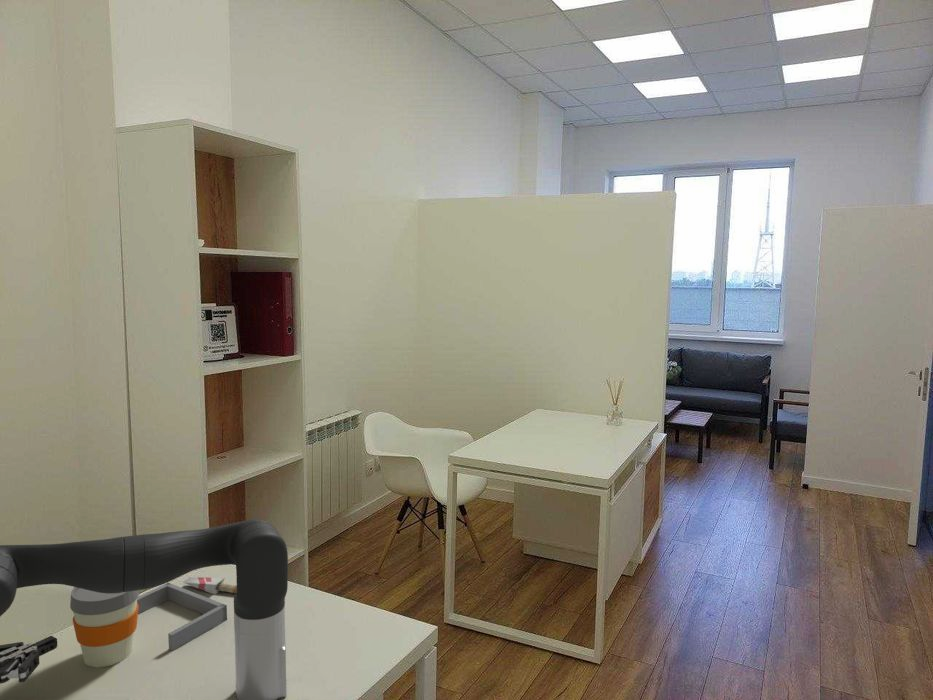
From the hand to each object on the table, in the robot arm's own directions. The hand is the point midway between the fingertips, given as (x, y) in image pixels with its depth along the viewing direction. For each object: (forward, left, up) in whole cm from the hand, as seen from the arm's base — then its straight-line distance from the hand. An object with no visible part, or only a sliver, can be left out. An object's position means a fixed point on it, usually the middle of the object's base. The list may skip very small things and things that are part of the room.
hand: (54, 641), depth 129 cm
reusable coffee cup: (-7, -7, -8) cm, 13 cm away
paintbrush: (-28, -30, -9) cm, 42 cm away
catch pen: (-18, -18, -8) cm, 27 cm away
